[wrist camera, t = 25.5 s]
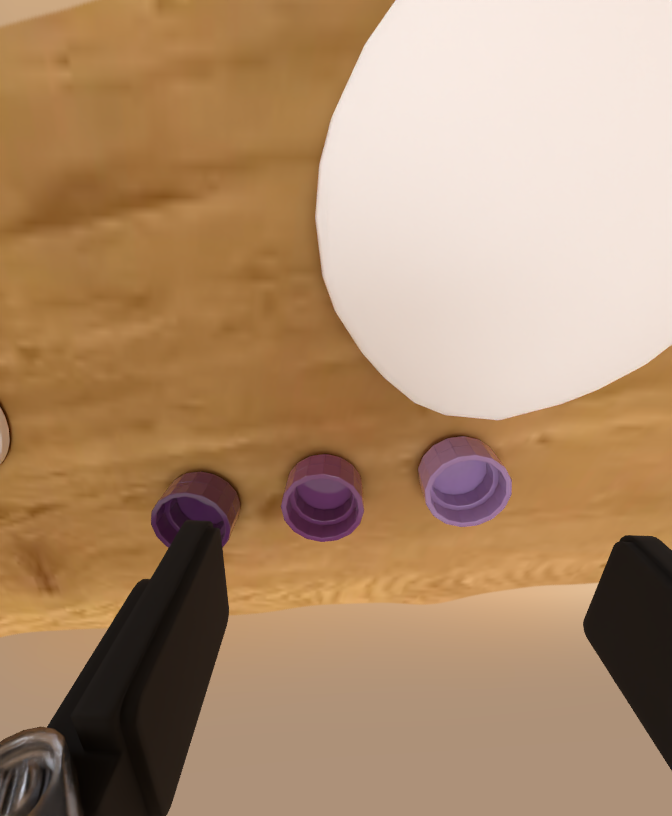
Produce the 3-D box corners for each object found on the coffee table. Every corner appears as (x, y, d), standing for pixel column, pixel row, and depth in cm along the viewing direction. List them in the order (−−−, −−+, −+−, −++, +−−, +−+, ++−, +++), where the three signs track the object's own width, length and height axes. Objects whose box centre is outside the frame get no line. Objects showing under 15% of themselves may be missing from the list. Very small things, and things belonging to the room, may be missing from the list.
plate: (652, -384, 14) (917, 166, 20) (550, -180, 20) (778, 194, 27) (209, 228, 20) (523, 507, 26) (235, 241, 26) (484, 465, 32)
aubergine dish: (183, 531, 38) (166, 559, 34) (160, 473, 35) (139, 498, 32) (249, 523, 37) (239, 552, 34) (230, 464, 35) (217, 488, 31)
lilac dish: (420, 503, 36) (428, 530, 32) (414, 439, 33) (422, 461, 29) (494, 494, 35) (511, 521, 31) (494, 428, 32) (512, 450, 29)
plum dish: (296, 517, 37) (291, 545, 33) (281, 456, 34) (273, 480, 31) (366, 509, 36) (368, 537, 32) (356, 446, 33) (357, 469, 30)
